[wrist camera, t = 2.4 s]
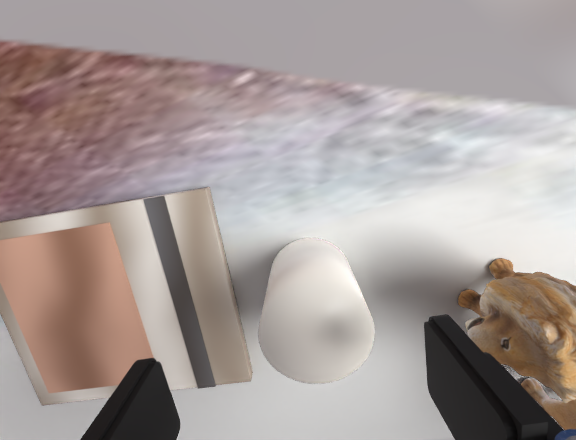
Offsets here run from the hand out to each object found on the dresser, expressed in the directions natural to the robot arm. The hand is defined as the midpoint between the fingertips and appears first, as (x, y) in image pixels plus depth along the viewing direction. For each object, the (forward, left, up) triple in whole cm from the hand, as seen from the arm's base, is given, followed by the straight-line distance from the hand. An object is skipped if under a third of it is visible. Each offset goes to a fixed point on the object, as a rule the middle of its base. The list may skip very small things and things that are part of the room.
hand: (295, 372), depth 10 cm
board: (+12, 0, -8) cm, 14 cm away
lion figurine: (-12, +5, -9) cm, 16 cm away
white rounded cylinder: (-1, 0, -8) cm, 8 cm away
